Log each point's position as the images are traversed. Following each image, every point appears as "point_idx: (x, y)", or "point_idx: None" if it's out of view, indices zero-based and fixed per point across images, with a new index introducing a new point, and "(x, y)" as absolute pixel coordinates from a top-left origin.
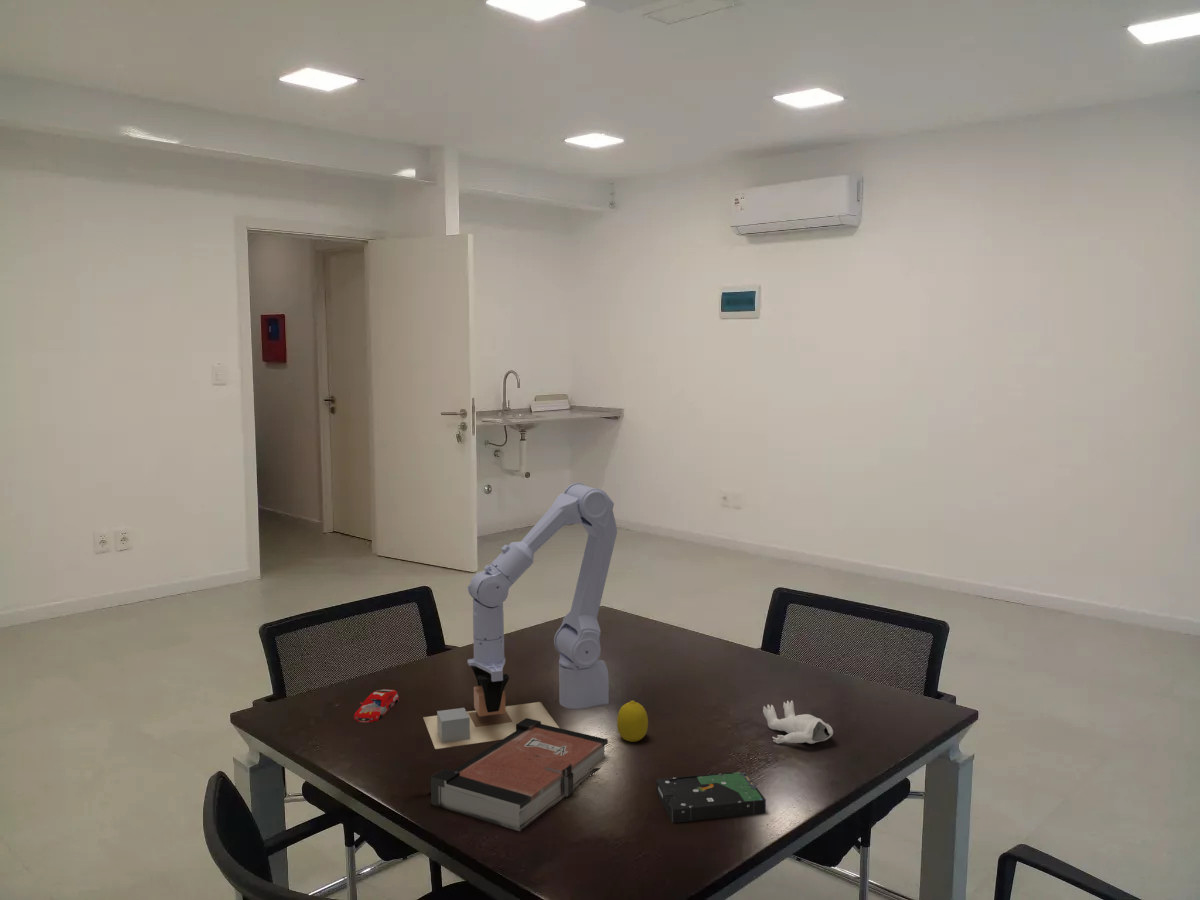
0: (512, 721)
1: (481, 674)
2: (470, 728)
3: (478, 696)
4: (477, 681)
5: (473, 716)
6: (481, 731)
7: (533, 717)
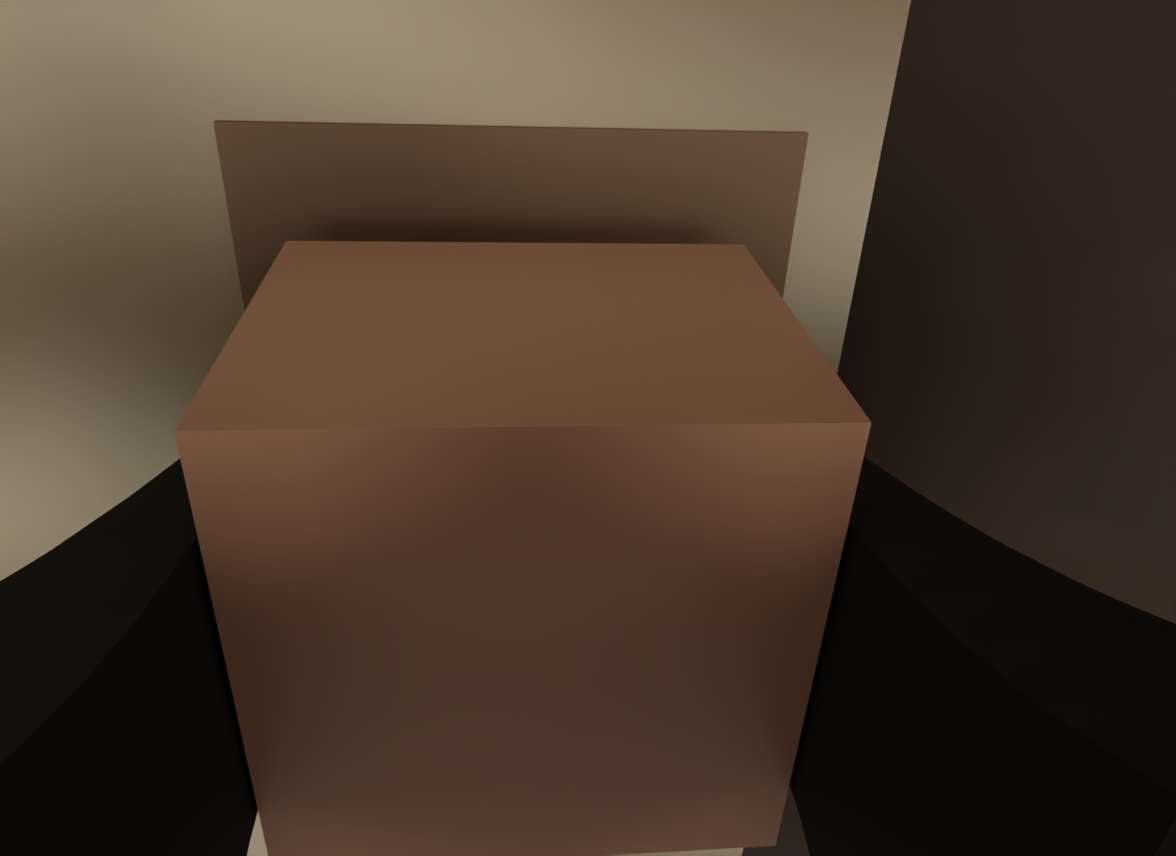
0: None
1: (960, 813)
2: (173, 24)
3: (238, 412)
4: (931, 578)
5: (636, 177)
6: (17, 172)
7: None
